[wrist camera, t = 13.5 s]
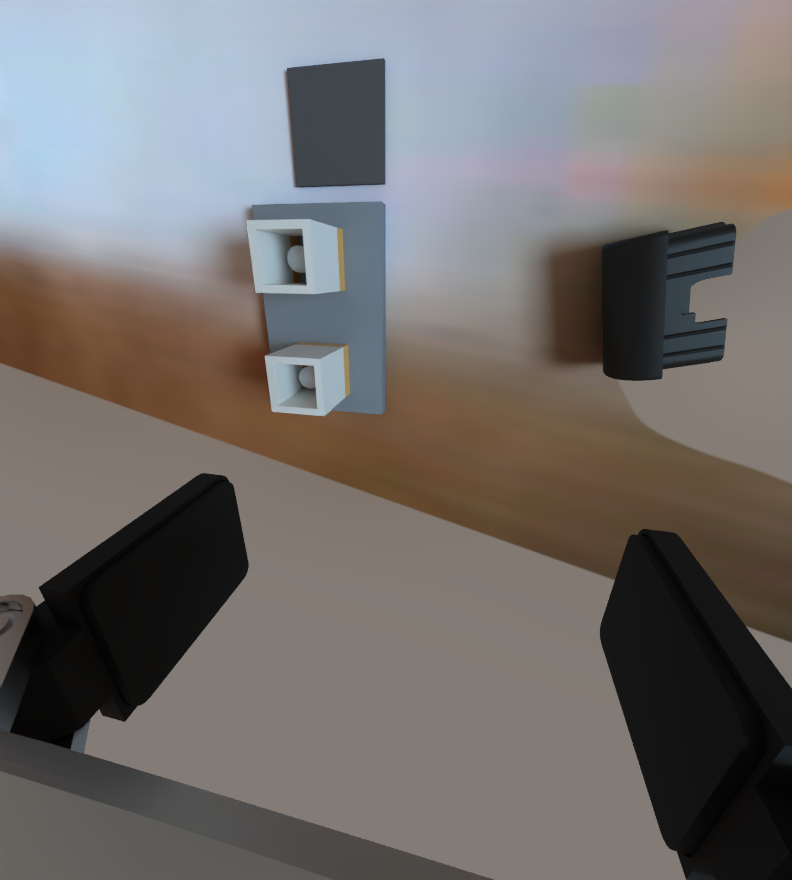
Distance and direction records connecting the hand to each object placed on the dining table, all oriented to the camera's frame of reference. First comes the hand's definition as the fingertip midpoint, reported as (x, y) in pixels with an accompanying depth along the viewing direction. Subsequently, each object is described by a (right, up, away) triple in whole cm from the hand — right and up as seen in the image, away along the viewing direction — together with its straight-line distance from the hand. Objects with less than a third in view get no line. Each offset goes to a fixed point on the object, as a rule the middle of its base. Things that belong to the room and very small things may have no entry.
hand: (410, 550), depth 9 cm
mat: (-5, +29, +22) cm, 37 cm away
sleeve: (-8, +10, +30) cm, 32 cm away
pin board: (-7, +15, +29) cm, 33 cm away
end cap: (+20, +14, +23) cm, 34 cm away
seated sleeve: (-8, +19, +26) cm, 33 cm away
